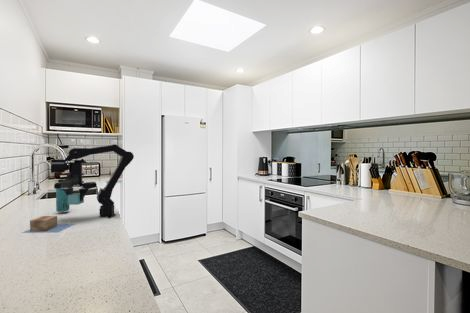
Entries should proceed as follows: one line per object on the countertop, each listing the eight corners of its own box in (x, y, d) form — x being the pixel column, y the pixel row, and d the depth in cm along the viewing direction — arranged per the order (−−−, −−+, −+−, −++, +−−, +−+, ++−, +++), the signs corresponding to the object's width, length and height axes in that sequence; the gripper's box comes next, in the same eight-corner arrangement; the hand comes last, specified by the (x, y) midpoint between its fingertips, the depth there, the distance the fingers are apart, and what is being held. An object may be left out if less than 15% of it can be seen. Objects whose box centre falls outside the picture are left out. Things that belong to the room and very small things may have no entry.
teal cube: (83, 202, 126) (83, 193, 126) (77, 204, 121) (77, 195, 121) (74, 202, 126) (74, 193, 125) (67, 204, 121) (67, 195, 120)
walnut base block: (57, 226, 113) (57, 216, 113) (46, 231, 106) (45, 220, 106) (42, 226, 113) (42, 216, 113) (30, 231, 106) (29, 220, 106)
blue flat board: (75, 225, 117) (75, 223, 117) (58, 233, 105) (58, 232, 105) (42, 225, 116) (42, 224, 116) (21, 234, 104) (21, 232, 104)
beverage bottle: (62, 214, 135) (61, 180, 134) (53, 214, 136) (52, 179, 136) (72, 211, 141) (71, 178, 141) (63, 211, 143) (62, 178, 142)
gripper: (45, 173, 114) (46, 205, 115) (84, 173, 115) (84, 205, 115) (61, 171, 126) (62, 200, 126) (97, 171, 126) (97, 200, 127)
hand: (76, 201), depth 123 cm, fingers closed on teal cube, 5 cm apart
